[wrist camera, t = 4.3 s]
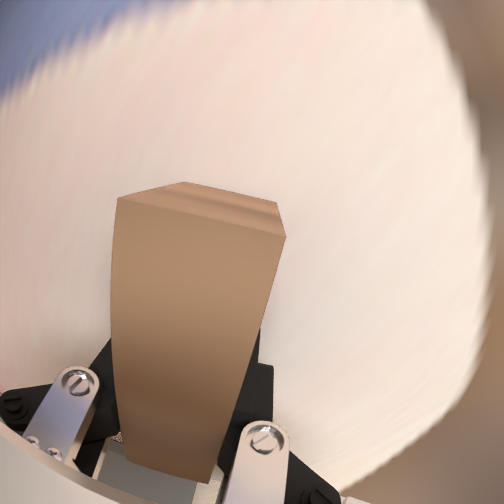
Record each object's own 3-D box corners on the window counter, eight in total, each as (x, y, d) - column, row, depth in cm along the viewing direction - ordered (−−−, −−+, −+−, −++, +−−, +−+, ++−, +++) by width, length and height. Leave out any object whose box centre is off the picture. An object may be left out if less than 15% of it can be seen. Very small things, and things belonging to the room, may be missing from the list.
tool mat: (73, 421, 15) (68, 429, 14) (200, 468, 15) (197, 479, 14) (110, 493, 21) (107, 499, 20) (187, 519, 21) (185, 525, 21)
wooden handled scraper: (143, 173, 9) (58, 185, 5) (321, 214, 9) (368, 257, 5) (135, 447, 13) (114, 500, 9) (228, 472, 14) (220, 529, 9)
